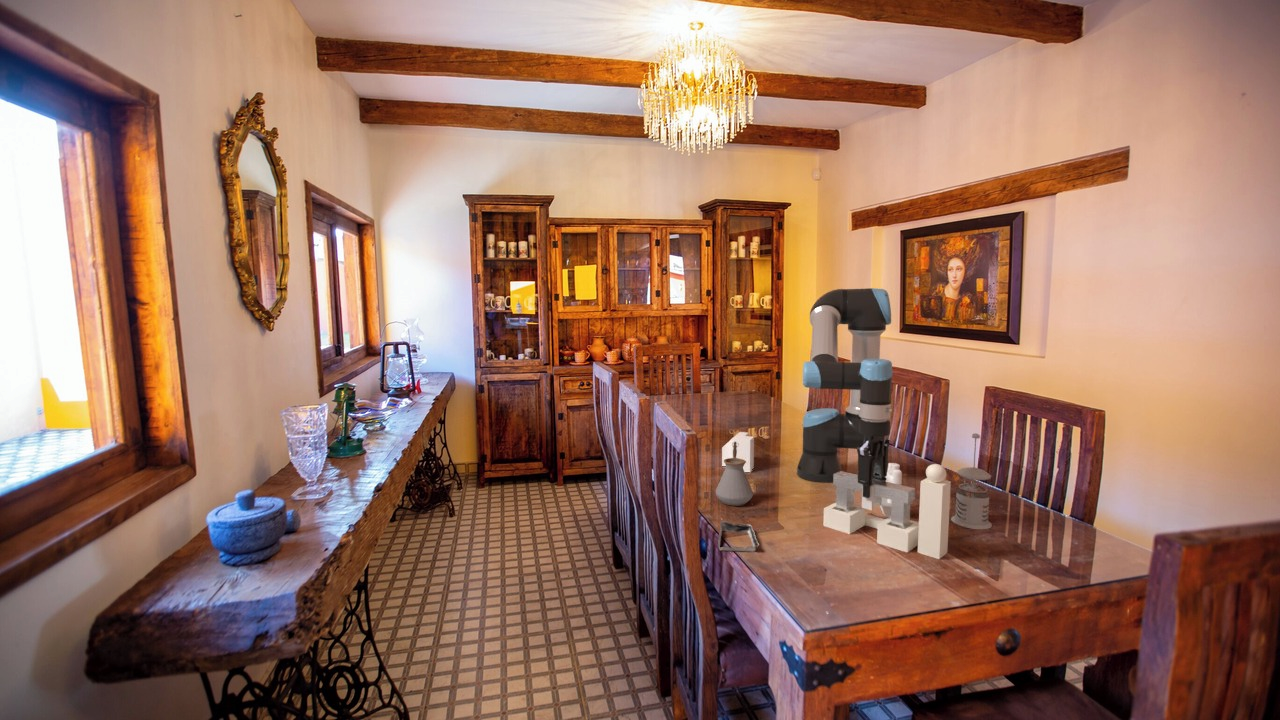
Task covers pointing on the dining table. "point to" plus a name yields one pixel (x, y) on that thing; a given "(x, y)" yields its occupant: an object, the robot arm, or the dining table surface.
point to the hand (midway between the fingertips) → (871, 506)
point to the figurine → (893, 477)
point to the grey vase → (734, 482)
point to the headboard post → (923, 533)
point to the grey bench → (884, 489)
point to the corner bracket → (740, 450)
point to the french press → (972, 498)
